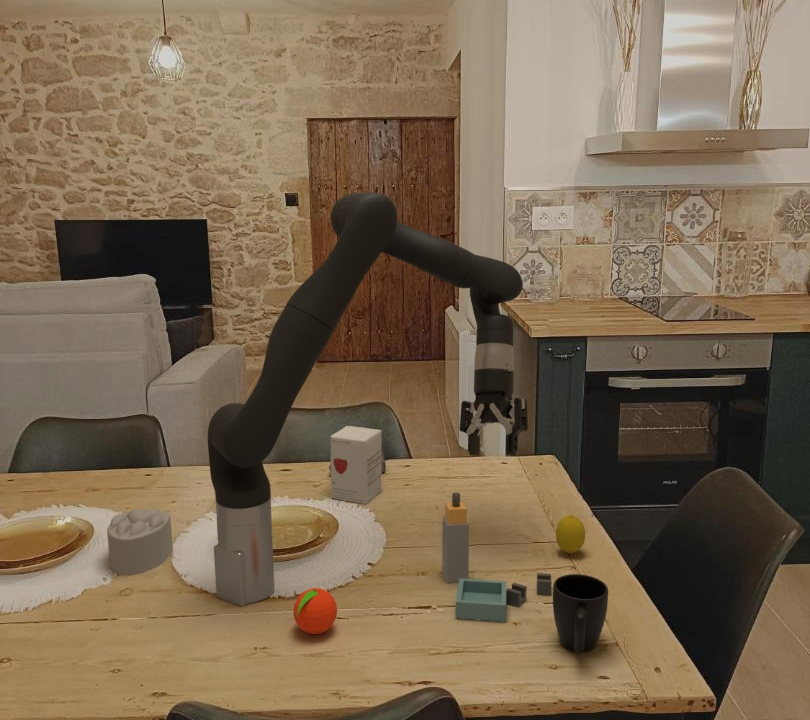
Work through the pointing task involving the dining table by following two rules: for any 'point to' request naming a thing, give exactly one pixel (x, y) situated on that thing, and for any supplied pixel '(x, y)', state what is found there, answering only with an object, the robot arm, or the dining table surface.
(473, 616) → the box
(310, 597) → the clementine
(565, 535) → the lemon
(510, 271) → the robot arm
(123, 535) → the lumpy-topped squat cylinder
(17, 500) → the dining table surface
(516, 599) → the cable clips
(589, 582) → the mug
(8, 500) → the dining table surface
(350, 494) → the supplement box
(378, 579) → the dining table surface
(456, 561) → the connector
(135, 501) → the dining table surface
